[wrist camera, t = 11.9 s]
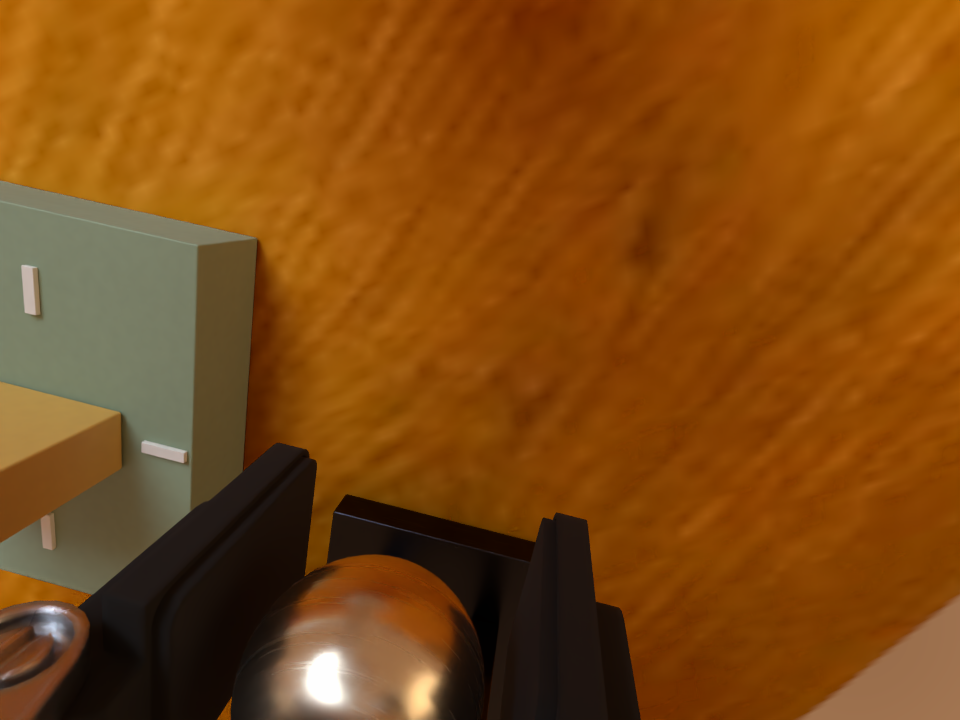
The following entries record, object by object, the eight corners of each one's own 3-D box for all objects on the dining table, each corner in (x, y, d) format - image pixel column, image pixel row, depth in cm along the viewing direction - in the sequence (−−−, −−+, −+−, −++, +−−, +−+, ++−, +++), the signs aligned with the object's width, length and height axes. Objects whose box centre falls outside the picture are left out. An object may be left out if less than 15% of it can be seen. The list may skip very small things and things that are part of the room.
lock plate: (-23, 175, 18) (-142, 169, 15) (258, 238, 17) (194, 245, 14) (9, 503, 22) (-79, 551, 19) (237, 564, 21) (184, 625, 18)
